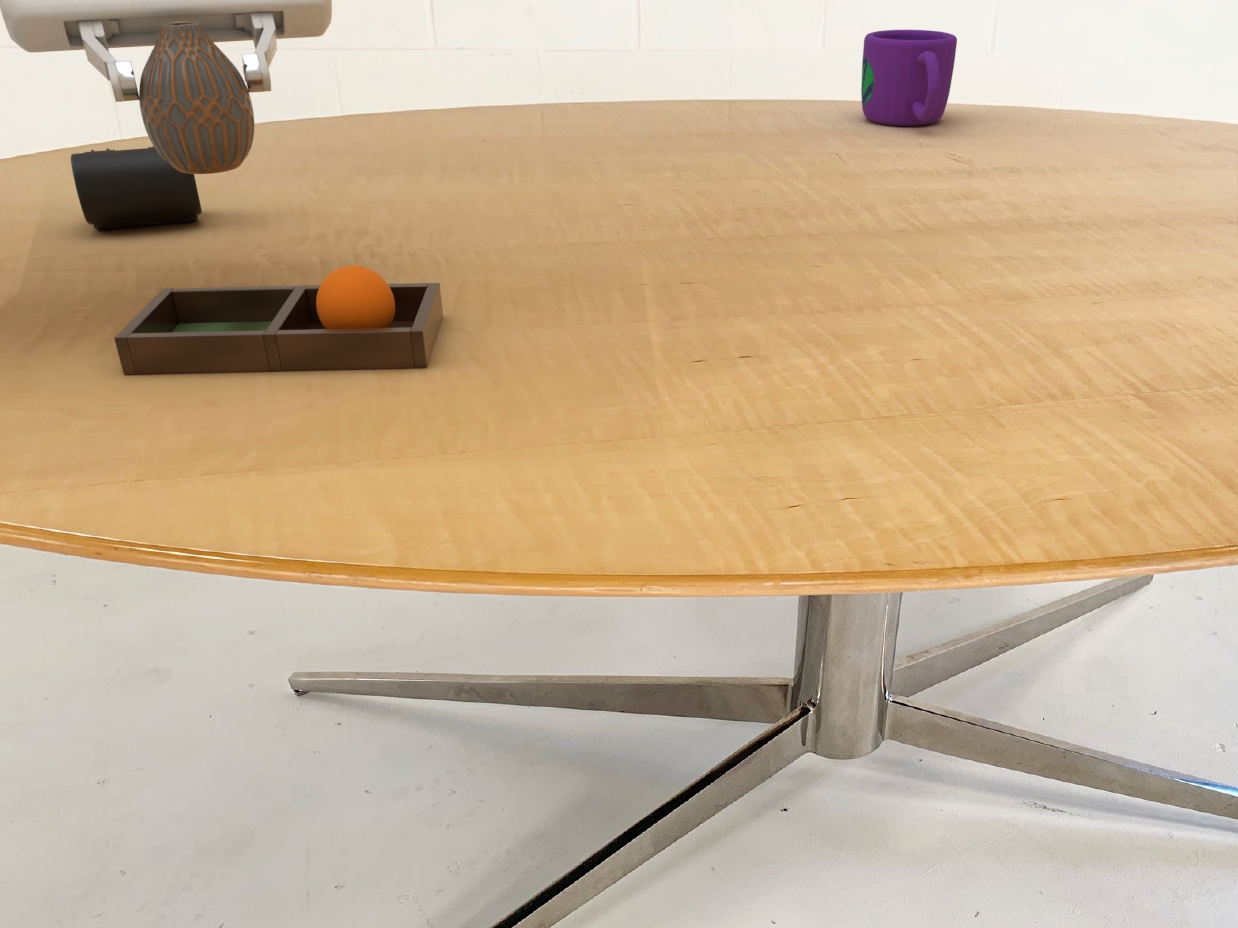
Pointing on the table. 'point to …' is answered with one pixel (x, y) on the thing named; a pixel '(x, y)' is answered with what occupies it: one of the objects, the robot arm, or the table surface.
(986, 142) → the table surface
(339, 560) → the table surface
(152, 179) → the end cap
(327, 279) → the clementine
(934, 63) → the mug
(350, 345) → the tray
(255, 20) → the robot arm
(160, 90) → the vase
